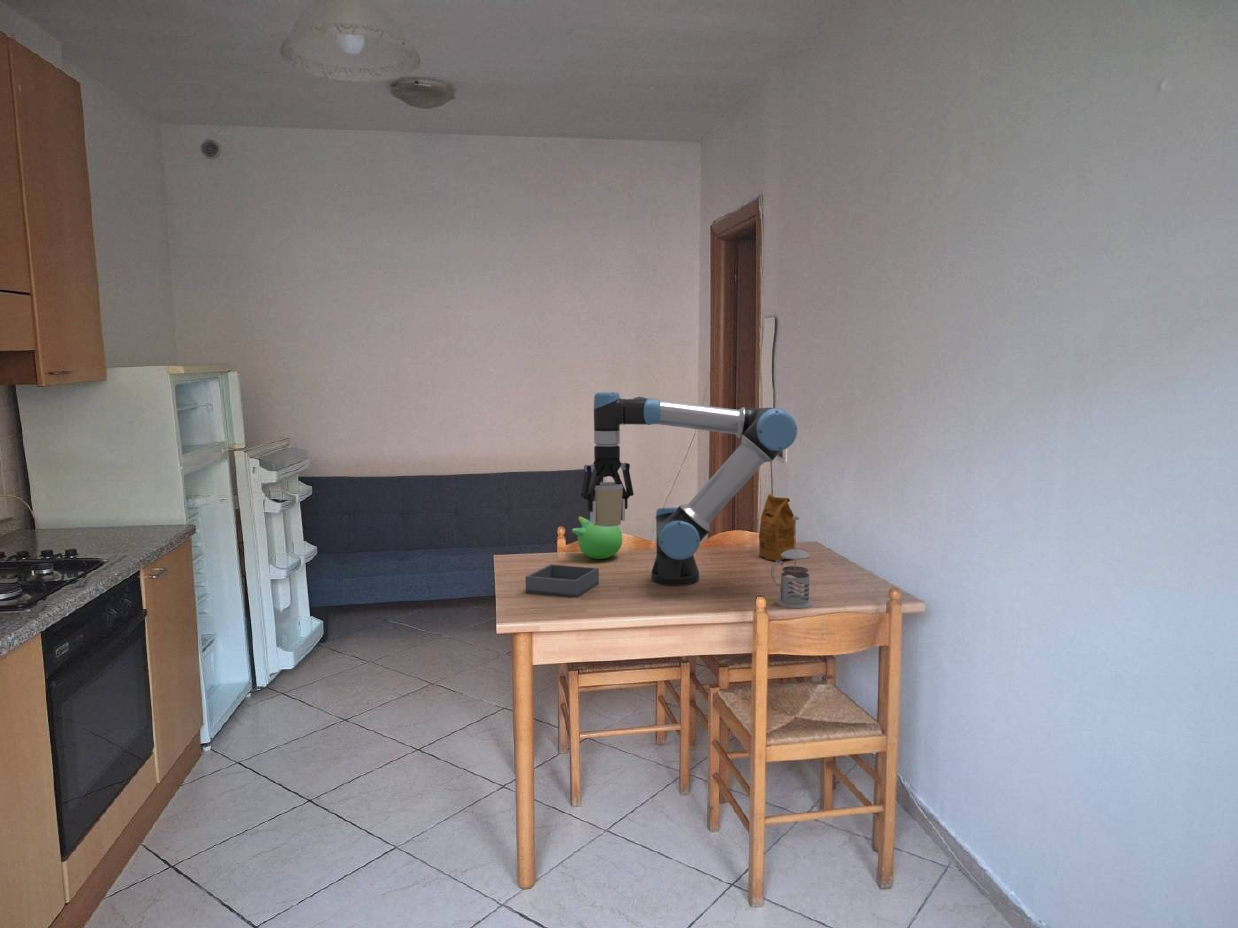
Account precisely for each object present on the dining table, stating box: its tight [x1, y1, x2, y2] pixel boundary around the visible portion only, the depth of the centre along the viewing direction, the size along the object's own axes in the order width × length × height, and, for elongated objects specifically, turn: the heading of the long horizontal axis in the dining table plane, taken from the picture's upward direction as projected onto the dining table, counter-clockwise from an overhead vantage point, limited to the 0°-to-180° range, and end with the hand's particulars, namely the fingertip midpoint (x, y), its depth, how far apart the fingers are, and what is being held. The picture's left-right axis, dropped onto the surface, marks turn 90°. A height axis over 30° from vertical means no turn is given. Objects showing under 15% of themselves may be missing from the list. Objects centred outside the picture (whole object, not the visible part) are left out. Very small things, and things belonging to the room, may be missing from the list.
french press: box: [770, 514, 813, 609], centre depth 226 cm, size 10×12×25 cm
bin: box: [525, 563, 600, 598], centre depth 246 cm, size 17×17×5 cm
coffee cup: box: [593, 481, 624, 527], centre depth 238 cm, size 9×9×12 cm
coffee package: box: [758, 493, 795, 562], centre depth 281 cm, size 10×12×22 cm
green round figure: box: [571, 516, 623, 560], centre depth 285 cm, size 18×17×15 cm
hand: (607, 521), depth 239 cm, fingers closed on coffee cup, 9 cm apart
